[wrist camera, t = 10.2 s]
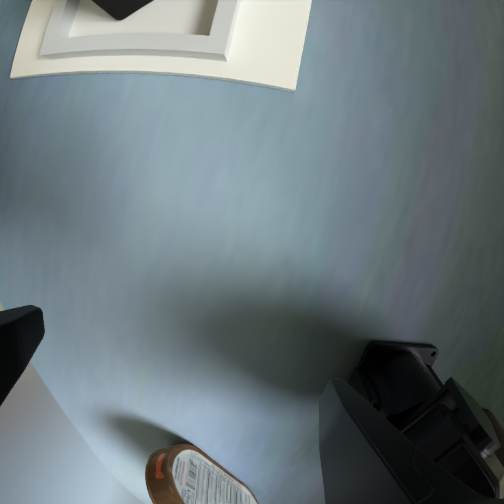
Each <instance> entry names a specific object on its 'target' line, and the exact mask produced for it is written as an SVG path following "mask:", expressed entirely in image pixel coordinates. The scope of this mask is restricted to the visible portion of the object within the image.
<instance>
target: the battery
mask: <svg viewBox="0 0 504 504" xmlns="http://www.w3.org/2000/svg"><path fill="white" fill-rule="evenodd" d="M92 1H93V2H94V3H95V4H97V5H98V6H99V7H100V8H102V9H103V10H104V11H105V12H107V13H108V14H109V15H110V16H112V17H113V18H114V19H116V20H119V21H120V20H123V19H125V18H127V17H128V16H130V15H131V14H133V13H134V12H136V11H138V10H139V9H141V8H142V7H144V6H146V5H147V4H149V3H150V2H152V1H154V0H92Z"/></svg>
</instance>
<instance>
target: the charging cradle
mask: <svg viewBox="0 0 504 504" xmlns="http://www.w3.org/2000/svg"><path fill="white" fill-rule="evenodd" d="M311 2H312V0H154V1H152V2H150V3H149V4H147V5H146V6H144V7H142V8H141V9H139V10H138V11H136V12H134V13H133V14H131V15H130V16H128V17H127V18H125V19H123V20H120V21H119V20H116V19H114V18H113V17H112V16H110V15H109V14H108V13H107V12H105V11H104V10H103V9H102V8H100V7H99V6H98V5H97V4H95V3H94V2H93V1H92V0H32V3H31V5H30V8H29V11H28V14H27V17H26V20H25V23H24V26H23V29H22V32H21V36H20V39H19V43H18V46H17V50H16V54H15V57H14V61H13V66H12V70H11V74H10V78H12V79H22V78H30V77H40V76H51V75H65V74H86V73H139V74H161V75H176V76H188V77H198V78H207V79H216V80H224V81H231V82H238V83H244V84H251V85H257V86H263V87H268V88H273V89H279V90H284V91H289V92H293V93H294V91H295V88H296V83H297V78H298V72H299V67H300V62H301V56H302V51H303V46H304V40H305V35H306V29H307V24H308V18H309V13H310V7H311Z"/></svg>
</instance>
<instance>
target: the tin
mask: <svg viewBox="0 0 504 504" xmlns="http://www.w3.org/2000/svg"><path fill="white" fill-rule="evenodd" d="M145 480H146V486H147V490H148V493H149V496H150V498H151V500H152V502H153V504H259V503H258V501H257V500H256V498H255V496H254V495H253V493H252V492H251V491H250V489H249V488H248V487H247V486H246V485H245V484H243V483H242V482H241V481H239V480H238V479H237V478H235V477H234V476H233V475H231V474H230V473H229V472H228V471H226V470H225V469H224V468H222V467H221V466H220V465H219V464H217V463H216V462H215V461H214V460H212V459H211V458H210V457H209V456H208V455H206V454H205V453H204V452H203V451H201V450H200V449H199V448H197V447H195V446H193V445H190V444H179V445H175V446H172V447H169V448H164V449H159V450H157V451H156V452H154V453H153V454H152V455H151V456H150V458H149V460H148V462H147V465H146V471H145Z"/></svg>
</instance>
